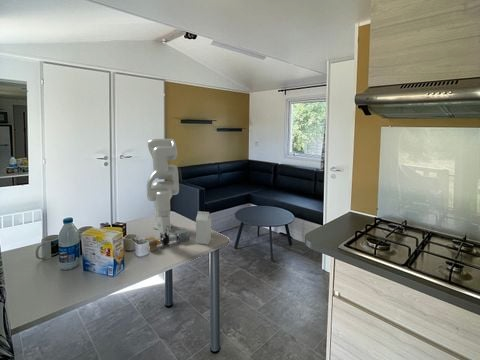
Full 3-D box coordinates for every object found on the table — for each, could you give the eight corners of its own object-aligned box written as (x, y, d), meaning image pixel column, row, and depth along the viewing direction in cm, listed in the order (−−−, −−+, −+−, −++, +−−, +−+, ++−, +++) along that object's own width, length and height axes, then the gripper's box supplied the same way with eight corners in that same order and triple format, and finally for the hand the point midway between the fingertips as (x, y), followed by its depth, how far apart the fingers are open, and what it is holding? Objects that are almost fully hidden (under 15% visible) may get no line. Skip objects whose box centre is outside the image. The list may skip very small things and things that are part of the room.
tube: (155, 245, 161) (154, 234, 159) (182, 238, 171) (182, 227, 169) (157, 247, 158) (157, 236, 157) (184, 240, 168) (184, 229, 167)
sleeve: (174, 240, 169) (174, 231, 168) (185, 237, 173) (185, 228, 172) (178, 243, 165) (178, 234, 164) (189, 240, 169) (189, 231, 168)
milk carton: (207, 244, 164) (207, 214, 160) (196, 243, 165) (195, 213, 161) (211, 239, 170) (211, 210, 167) (200, 238, 172) (199, 209, 168)
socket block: (146, 247, 159) (145, 237, 158) (152, 245, 161) (152, 235, 160) (149, 251, 154) (149, 241, 153) (156, 249, 156) (156, 239, 155)
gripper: (151, 210, 163) (153, 239, 166) (162, 217, 150) (164, 249, 153) (164, 207, 167) (165, 236, 171) (175, 215, 154) (176, 245, 158)
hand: (164, 242), depth 162 cm, fingers closed on tube, 3 cm apart
